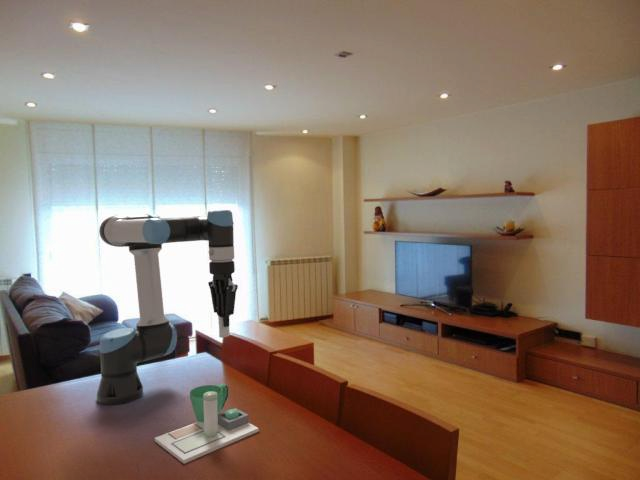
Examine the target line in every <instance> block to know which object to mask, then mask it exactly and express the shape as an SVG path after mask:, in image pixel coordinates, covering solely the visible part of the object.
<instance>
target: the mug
mask: <svg viewBox="0 0 640 480" xmlns="http://www.w3.org/2000/svg"><path fill="white" fill-rule="evenodd" d="M210 391H214V392H217V412H218V414H220V412H221V411H222V409H223V408H224V406H225V404H226V402H227V399H228V397H229V387H228V385H227V384H226V383H220V384H218V385H213V384H206V385H200V386H196V387H194V388H193V389H191V390H190V391H189V399H190V402H191V407H192V409H193V410H192V411H193V413H194V415H195V418H196V420H197V422H199V421H200V422H204V399H203V394H204V393H206V392H210Z"/></svg>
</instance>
